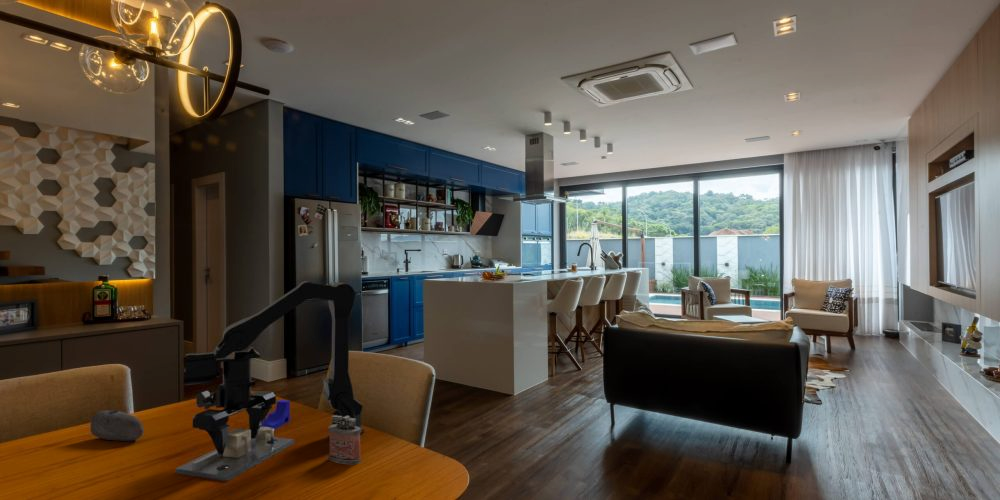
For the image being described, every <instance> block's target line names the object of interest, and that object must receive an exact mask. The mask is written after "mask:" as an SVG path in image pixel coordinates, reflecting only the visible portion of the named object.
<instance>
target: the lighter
mask: <svg viewBox="0 0 1000 500" xmlns="http://www.w3.org/2000/svg"><path fill="white" fill-rule="evenodd" d="M332 422H336V423H337V424H333V425H332V424H331V425H329V426H328V432H329V455H328V461H330V462H333V463H337V464H344V465H357V464H359V463H361V462H362V457H361V434H360V432H361V429H362V427H361V428H360V427H357V426H355V423H356V419H354V418H350V416H345V417H342V416H336V415H334V414H333V415H332V416H331V423H332Z"/></svg>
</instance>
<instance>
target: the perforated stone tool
mask: <svg viewBox="0 0 1000 500" xmlns="http://www.w3.org/2000/svg"><path fill="white" fill-rule="evenodd" d="M89 429H90V433H91V434H92V435H93V436H94V437H97V438H99V439H102V440H106V441H109V440H110V441H122V442H124V441H125V442H130V441H136V440H139V439H140V438H141V437H142V436H143V434H144V431H145V429H144V425H143V423H142V422H141V420H140V419H139V418H137V417H136V416H135V415H131V414H129V413H126V412H124V411H119V410H112V409H111V410H109V409H104V410H103V409H102V410H100V411H96V413H94V414H93V415H92V417H91V420H90V426H89Z"/></svg>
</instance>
